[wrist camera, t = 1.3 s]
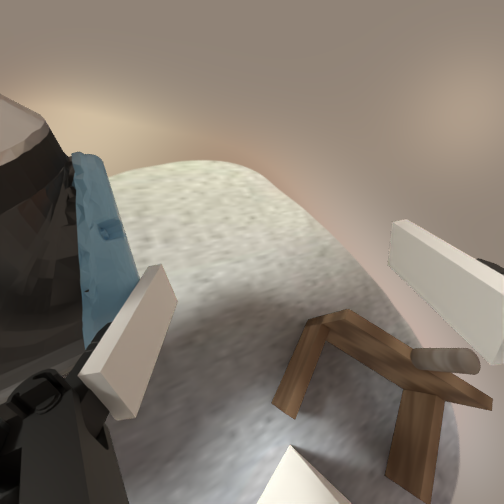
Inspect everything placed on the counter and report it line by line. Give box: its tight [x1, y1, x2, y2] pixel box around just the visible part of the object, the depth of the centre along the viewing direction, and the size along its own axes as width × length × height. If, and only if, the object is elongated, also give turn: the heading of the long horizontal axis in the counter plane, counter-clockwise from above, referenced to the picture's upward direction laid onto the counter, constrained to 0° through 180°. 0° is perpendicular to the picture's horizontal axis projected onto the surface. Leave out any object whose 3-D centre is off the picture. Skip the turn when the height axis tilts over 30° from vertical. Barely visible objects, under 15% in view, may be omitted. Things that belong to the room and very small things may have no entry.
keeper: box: [272, 309, 493, 504], centre depth 24 cm, size 17×12×15 cm
